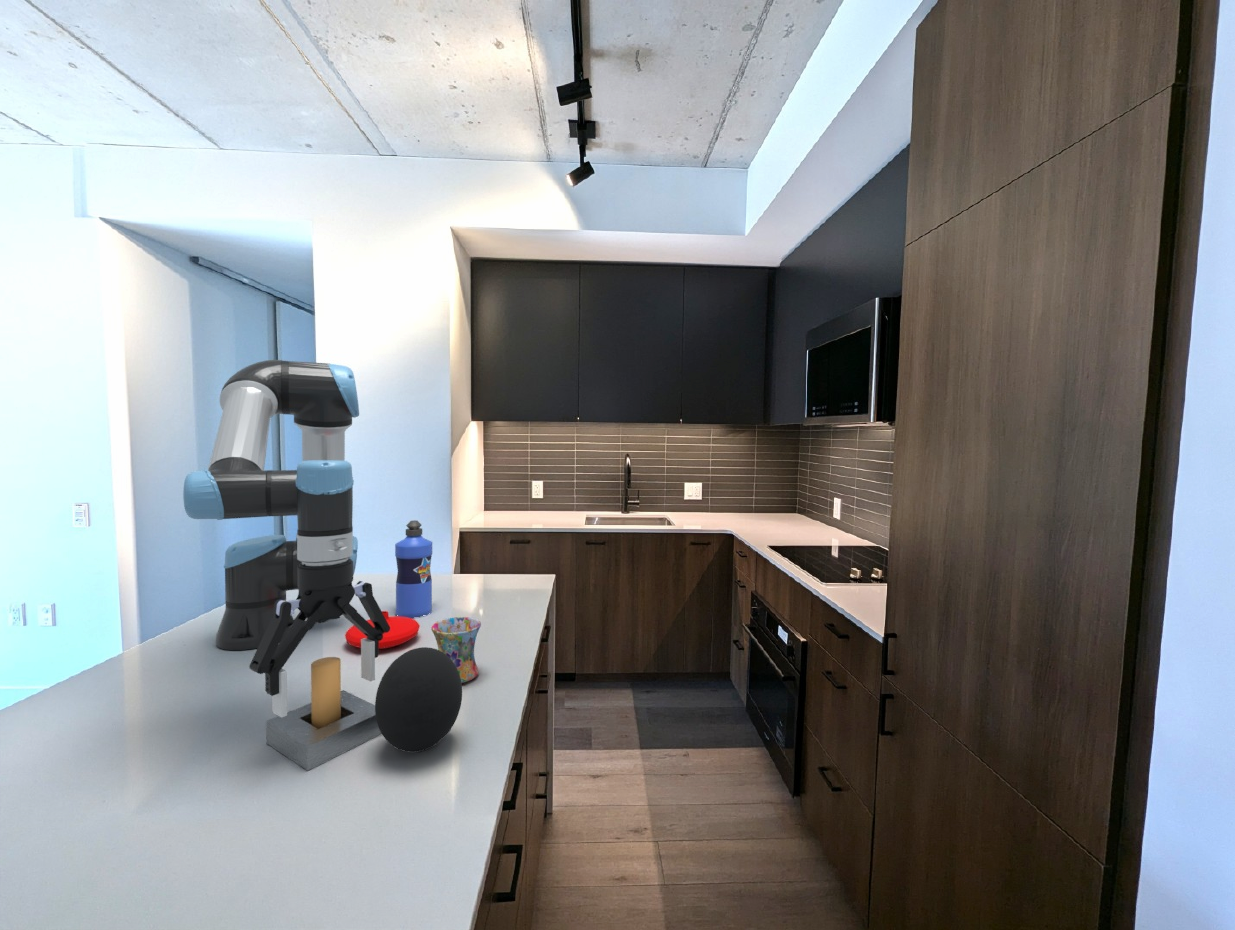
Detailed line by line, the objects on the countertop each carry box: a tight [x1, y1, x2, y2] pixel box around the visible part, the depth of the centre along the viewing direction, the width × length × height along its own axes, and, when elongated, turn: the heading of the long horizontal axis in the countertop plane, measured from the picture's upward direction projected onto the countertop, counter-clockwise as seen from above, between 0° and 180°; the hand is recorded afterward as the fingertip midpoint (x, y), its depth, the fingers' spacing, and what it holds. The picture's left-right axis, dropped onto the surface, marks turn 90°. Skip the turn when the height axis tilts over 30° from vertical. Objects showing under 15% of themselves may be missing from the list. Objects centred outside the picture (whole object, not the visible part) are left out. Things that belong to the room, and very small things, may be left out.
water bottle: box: [394, 519, 433, 619], centre depth 140 cm, size 9×9×25 cm
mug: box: [430, 616, 482, 684], centre depth 104 cm, size 12×9×11 cm
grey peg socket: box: [265, 689, 382, 771], centre depth 81 cm, size 12×12×4 cm
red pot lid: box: [344, 610, 421, 650], centre depth 120 cm, size 16×16×7 cm
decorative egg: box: [374, 647, 463, 753], centre depth 79 cm, size 12×12×15 cm
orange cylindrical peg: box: [310, 656, 342, 729], centre depth 81 cm, size 4×4×12 cm
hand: (327, 695), depth 81 cm, fingers open, 13 cm apart
